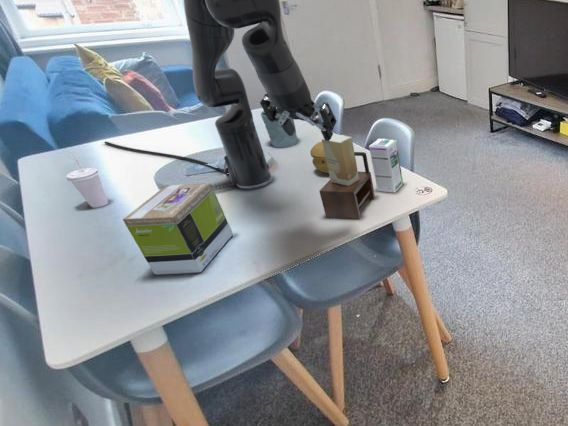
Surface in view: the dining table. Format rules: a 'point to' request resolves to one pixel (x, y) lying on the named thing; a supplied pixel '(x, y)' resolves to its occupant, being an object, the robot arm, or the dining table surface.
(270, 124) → the blue-grey planter
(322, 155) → the pot
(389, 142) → the syrup box
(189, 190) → the tea box
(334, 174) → the cosmetic box
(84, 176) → the smoothie
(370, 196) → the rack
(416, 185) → the dining table surface
